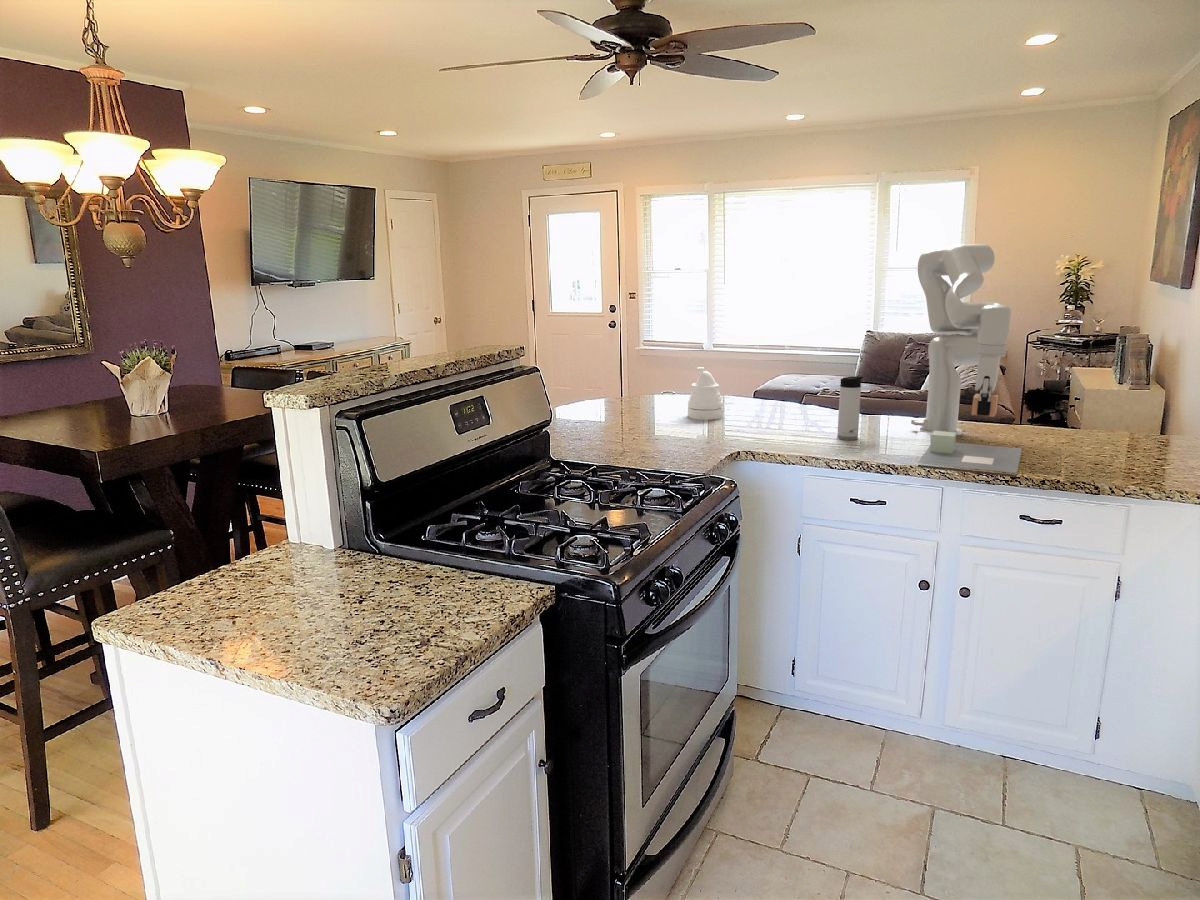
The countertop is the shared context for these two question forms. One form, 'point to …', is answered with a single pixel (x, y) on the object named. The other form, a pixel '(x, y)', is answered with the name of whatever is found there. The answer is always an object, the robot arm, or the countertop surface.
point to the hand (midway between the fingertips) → (984, 412)
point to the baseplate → (975, 459)
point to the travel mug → (849, 408)
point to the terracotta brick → (992, 407)
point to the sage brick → (943, 442)
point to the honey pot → (705, 398)
